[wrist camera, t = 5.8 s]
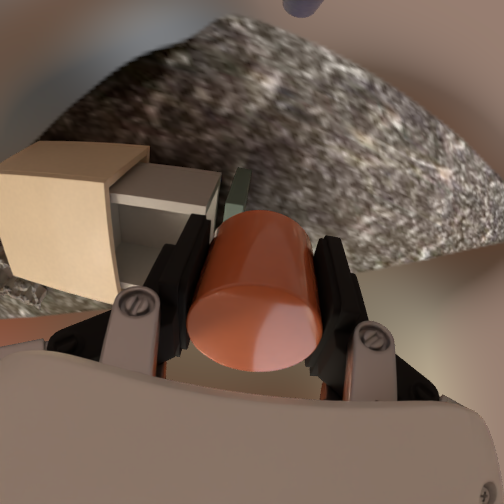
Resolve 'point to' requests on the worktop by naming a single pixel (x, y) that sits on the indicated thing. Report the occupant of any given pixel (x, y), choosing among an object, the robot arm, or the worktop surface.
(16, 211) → the wooden drawer box
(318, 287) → the robot arm
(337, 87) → the worktop surface
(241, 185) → the green-fronted drawer
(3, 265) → the egg carton
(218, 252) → the orange cylinder
